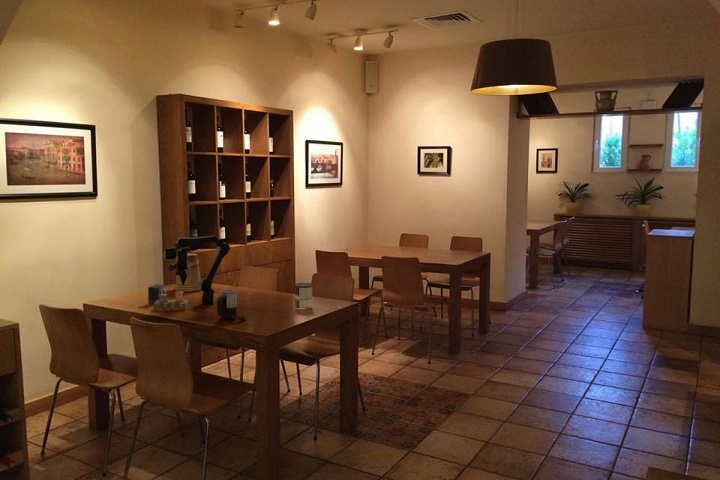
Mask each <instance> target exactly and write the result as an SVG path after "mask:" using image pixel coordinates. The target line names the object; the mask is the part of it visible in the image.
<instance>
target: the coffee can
mask: <svg viewBox="0 0 720 480" xmlns="http://www.w3.org/2000/svg"><path fill="white" fill-rule="evenodd" d="M294 288H295V289H294V291H295V295H294V299H295V300H294V302H295V303H294V305H295V306H294V308H295V307H296V308H311V307H312V308H313V283H309V282H298V283H295V284H294ZM296 308H295V309H296ZM312 308H311V309H312Z"/></svg>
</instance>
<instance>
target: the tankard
mask: <svg viewBox="0 0 720 480" xmlns="http://www.w3.org/2000/svg"><path fill="white" fill-rule="evenodd" d="M187 257H188V266H189V267H190V270H189V271H188V270H187V272H189V273H188V276H187V278H186V281H185V284H184V285H182V282H181V278H180V276H179V275H175V276H176V277H175V278H176V279H175V284H174V291H175V292H176V291H183V293H185V292H187V293H188V292H197V291H202V290H201V289H200V288H199V282H200V281H201V278H202V277H201V272H200V266H199V264H200V262H199V259H198V254H197V253H187ZM177 260H178V258H177V257H176V258H175V263H177Z"/></svg>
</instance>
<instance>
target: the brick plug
mask: <svg viewBox="0 0 720 480" xmlns="http://www.w3.org/2000/svg"><path fill="white" fill-rule="evenodd" d="M174 294H175V300H176V303H181V302H183V300H184V297H183V296H184V295H183V294H184V292H183V291H176V290H175V292H174Z"/></svg>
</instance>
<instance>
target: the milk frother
mask: <svg viewBox="0 0 720 480" xmlns="http://www.w3.org/2000/svg"><path fill="white" fill-rule="evenodd" d="M237 295H238V290H235V289H224V290H223V289H222V290H221V291H220V295H219V296H218V297H217V298H216V314H217V316H218V317H221V318H220V319H222V318H227V319H226V320H229V319H228V318H234V319H237V318H239V320H241V321H244V320H246V319H247V318H246V317H245V315H238V309H237V306H238V305H237V304H238V303H237V302H238V298H237V297H238V296H237ZM243 319H244V320H243Z"/></svg>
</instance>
